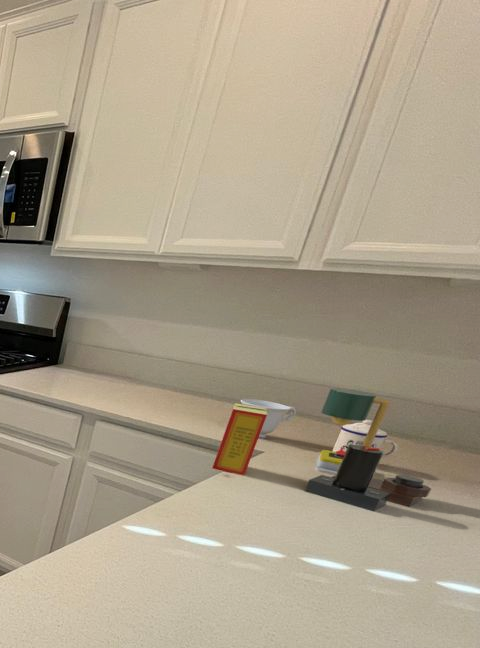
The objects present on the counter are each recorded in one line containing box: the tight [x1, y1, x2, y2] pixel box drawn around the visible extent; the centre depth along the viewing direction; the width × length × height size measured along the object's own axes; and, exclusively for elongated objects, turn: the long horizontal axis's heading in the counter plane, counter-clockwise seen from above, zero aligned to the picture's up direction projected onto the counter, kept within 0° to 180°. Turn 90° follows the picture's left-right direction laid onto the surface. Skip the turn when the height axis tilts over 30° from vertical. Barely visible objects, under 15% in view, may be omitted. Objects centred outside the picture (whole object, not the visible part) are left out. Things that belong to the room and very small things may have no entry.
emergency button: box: [314, 449, 346, 476], centre depth 153 cm, size 9×4×15 cm
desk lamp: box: [321, 387, 391, 447], centre depth 141 cm, size 12×8×18 cm, turn 31°
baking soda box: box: [211, 402, 267, 476], centre depth 147 cm, size 10×6×16 cm
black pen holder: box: [333, 445, 384, 491], centre depth 131 cm, size 6×6×9 cm
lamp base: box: [331, 475, 432, 508], centre depth 137 cm, size 15×10×4 cm, turn 31°
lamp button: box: [394, 474, 425, 488], centre depth 133 cm, size 4×4×2 cm
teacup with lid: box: [332, 419, 398, 458], centre depth 159 cm, size 12×9×12 cm
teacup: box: [240, 398, 297, 439], centre depth 180 cm, size 12×15×10 cm
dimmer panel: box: [304, 474, 391, 512], centre depth 133 cm, size 12×10×3 cm
